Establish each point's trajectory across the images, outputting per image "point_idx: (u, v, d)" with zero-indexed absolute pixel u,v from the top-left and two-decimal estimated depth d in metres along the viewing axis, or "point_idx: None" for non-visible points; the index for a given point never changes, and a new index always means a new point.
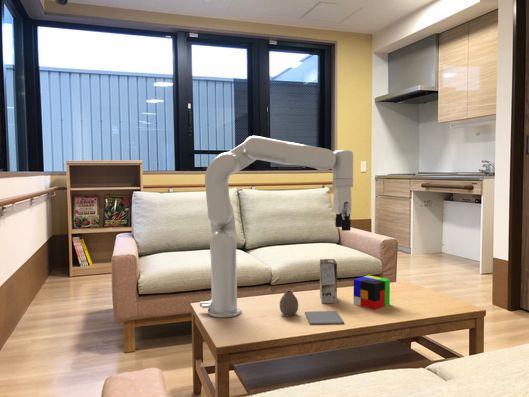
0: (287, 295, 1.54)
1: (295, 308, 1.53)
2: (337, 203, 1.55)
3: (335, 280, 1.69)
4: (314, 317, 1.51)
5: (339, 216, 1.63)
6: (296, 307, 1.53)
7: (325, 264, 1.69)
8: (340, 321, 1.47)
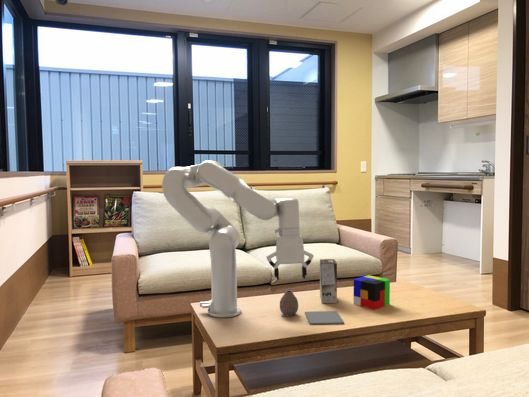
0: (287, 295, 1.54)
1: (295, 308, 1.53)
2: (298, 252, 1.52)
3: (335, 280, 1.69)
4: (314, 317, 1.51)
5: (277, 267, 1.54)
6: (296, 307, 1.53)
7: (325, 264, 1.69)
8: (340, 321, 1.47)
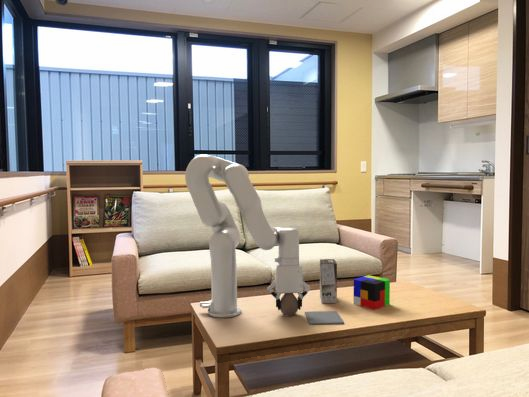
0: (287, 295, 1.54)
1: (295, 308, 1.53)
2: (297, 282, 1.52)
3: (335, 280, 1.69)
4: (314, 317, 1.51)
5: None
6: (296, 307, 1.53)
7: (325, 264, 1.69)
8: (340, 321, 1.47)
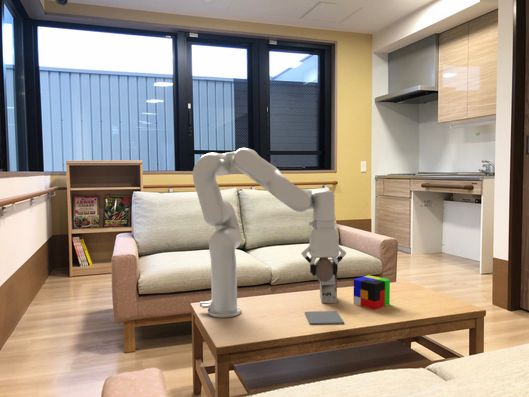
0: (322, 260, 1.49)
1: (331, 273, 1.48)
2: (333, 246, 1.47)
3: (335, 280, 1.69)
4: (314, 317, 1.51)
5: None
6: (332, 272, 1.48)
7: None
8: (340, 321, 1.47)
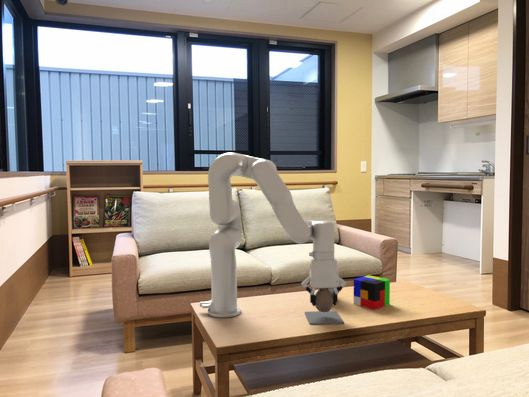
0: (322, 290, 1.49)
1: (331, 303, 1.48)
2: (333, 277, 1.48)
3: None
4: (314, 317, 1.51)
5: None
6: (332, 302, 1.49)
7: None
8: (340, 321, 1.47)
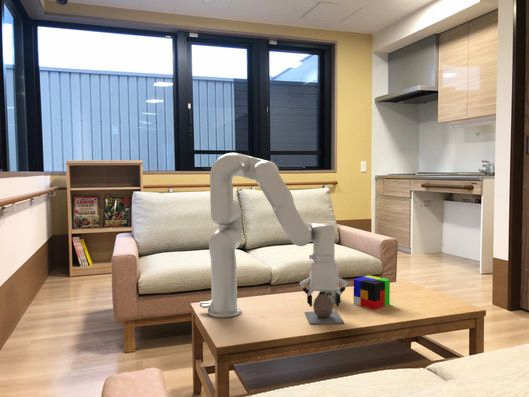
0: (321, 297, 1.49)
1: (330, 310, 1.48)
2: (333, 280, 1.48)
3: None
4: (314, 317, 1.51)
5: None
6: (331, 309, 1.49)
7: None
8: (340, 321, 1.47)
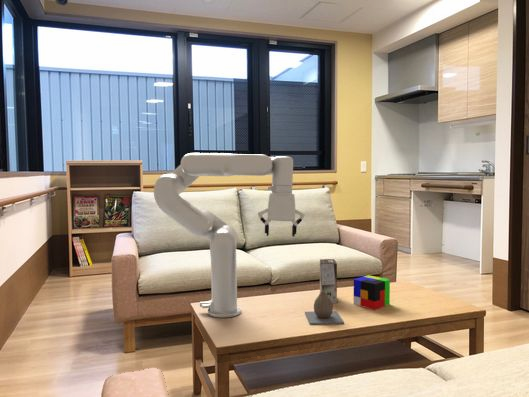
0: (322, 297, 1.49)
1: (330, 310, 1.49)
2: (289, 210, 1.54)
3: (335, 280, 1.69)
4: (314, 317, 1.51)
5: None
6: (331, 309, 1.49)
7: (325, 264, 1.69)
8: (340, 321, 1.47)
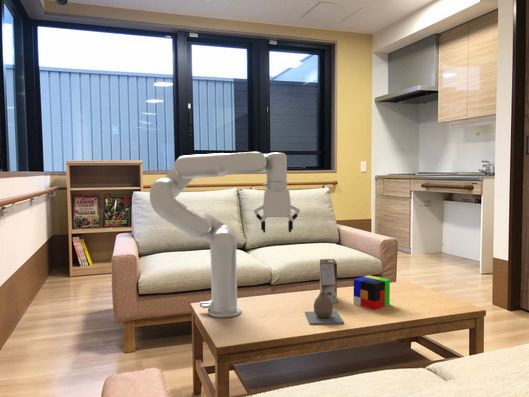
0: (322, 297, 1.49)
1: (330, 310, 1.49)
2: (285, 206, 1.55)
3: (335, 280, 1.69)
4: (314, 317, 1.51)
5: (264, 220, 1.57)
6: (331, 309, 1.49)
7: (325, 264, 1.69)
8: (340, 321, 1.47)
